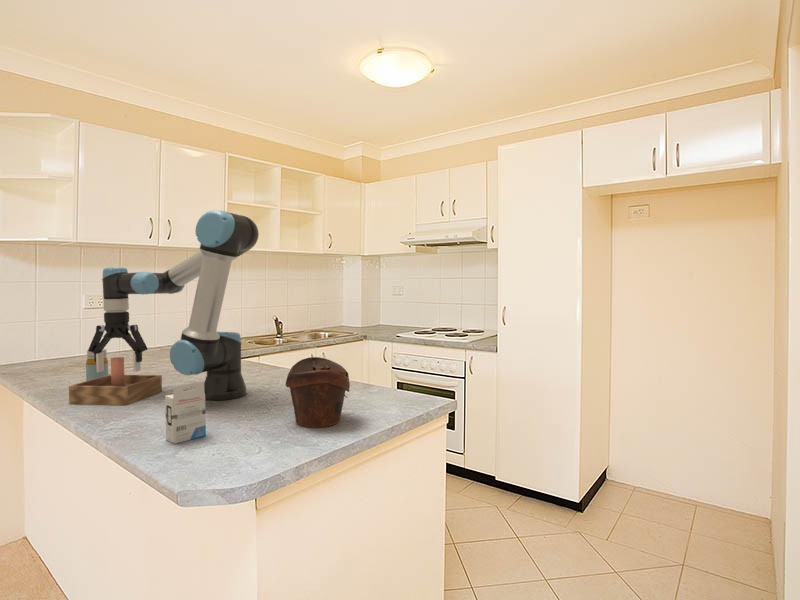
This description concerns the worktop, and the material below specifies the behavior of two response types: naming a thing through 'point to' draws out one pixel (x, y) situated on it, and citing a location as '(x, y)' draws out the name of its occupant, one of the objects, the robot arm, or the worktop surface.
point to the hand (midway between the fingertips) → (118, 371)
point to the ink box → (185, 413)
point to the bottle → (91, 366)
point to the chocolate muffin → (317, 391)
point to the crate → (115, 390)
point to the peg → (117, 371)
